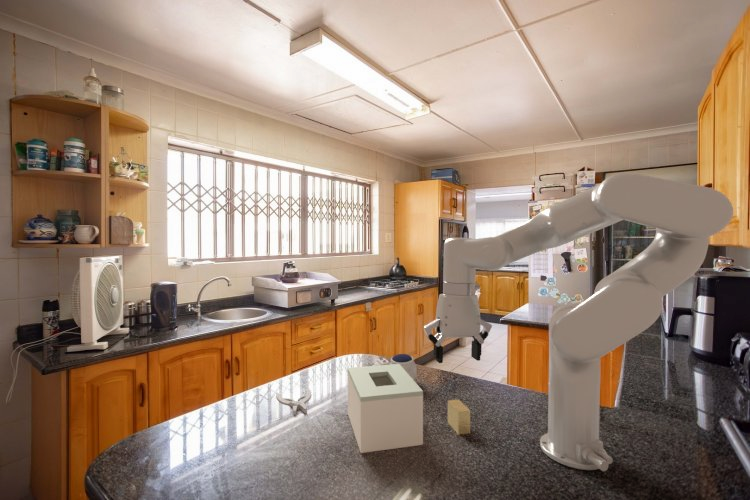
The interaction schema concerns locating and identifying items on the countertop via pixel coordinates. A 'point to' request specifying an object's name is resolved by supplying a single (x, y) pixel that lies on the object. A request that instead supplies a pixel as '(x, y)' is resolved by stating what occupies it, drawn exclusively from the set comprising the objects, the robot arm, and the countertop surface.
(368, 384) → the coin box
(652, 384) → the countertop surface
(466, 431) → the block
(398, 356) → the toy
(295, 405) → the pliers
